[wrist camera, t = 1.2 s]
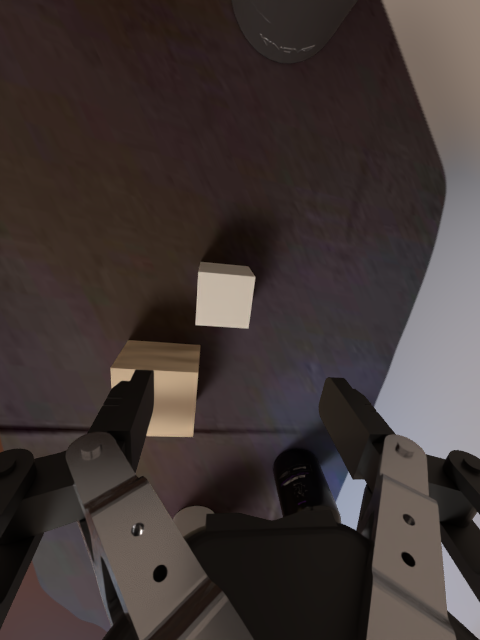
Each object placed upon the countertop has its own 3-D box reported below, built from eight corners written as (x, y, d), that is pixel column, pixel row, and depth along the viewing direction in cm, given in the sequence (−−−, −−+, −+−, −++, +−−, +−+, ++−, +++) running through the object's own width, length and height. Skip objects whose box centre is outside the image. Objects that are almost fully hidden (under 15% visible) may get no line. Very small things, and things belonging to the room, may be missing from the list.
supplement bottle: (285, 441, 38) (316, 535, 27) (325, 453, 40) (369, 546, 29) (263, 474, 40) (283, 574, 29) (302, 485, 42) (334, 582, 31)
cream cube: (200, 261, 28) (198, 271, 23) (248, 266, 29) (255, 276, 24) (197, 307, 30) (195, 324, 25) (242, 310, 30) (248, 328, 26)
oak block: (128, 339, 30) (110, 368, 25) (200, 344, 32) (198, 372, 26) (129, 398, 33) (113, 435, 28) (195, 400, 34) (192, 436, 29)
